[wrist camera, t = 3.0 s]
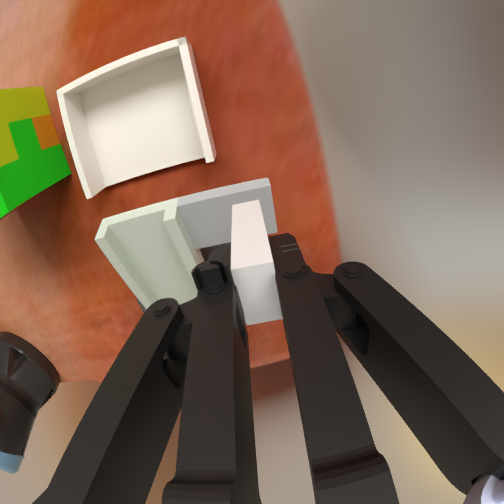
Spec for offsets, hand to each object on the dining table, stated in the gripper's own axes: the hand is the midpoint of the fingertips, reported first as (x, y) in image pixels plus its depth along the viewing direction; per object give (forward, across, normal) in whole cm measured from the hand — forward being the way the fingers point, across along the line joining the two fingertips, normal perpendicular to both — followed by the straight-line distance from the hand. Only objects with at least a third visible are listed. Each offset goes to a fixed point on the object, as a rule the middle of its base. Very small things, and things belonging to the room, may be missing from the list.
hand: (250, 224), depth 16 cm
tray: (+9, -8, +8) cm, 14 cm away
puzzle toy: (+10, -22, +10) cm, 26 cm away
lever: (+6, -4, -8) cm, 11 cm away
